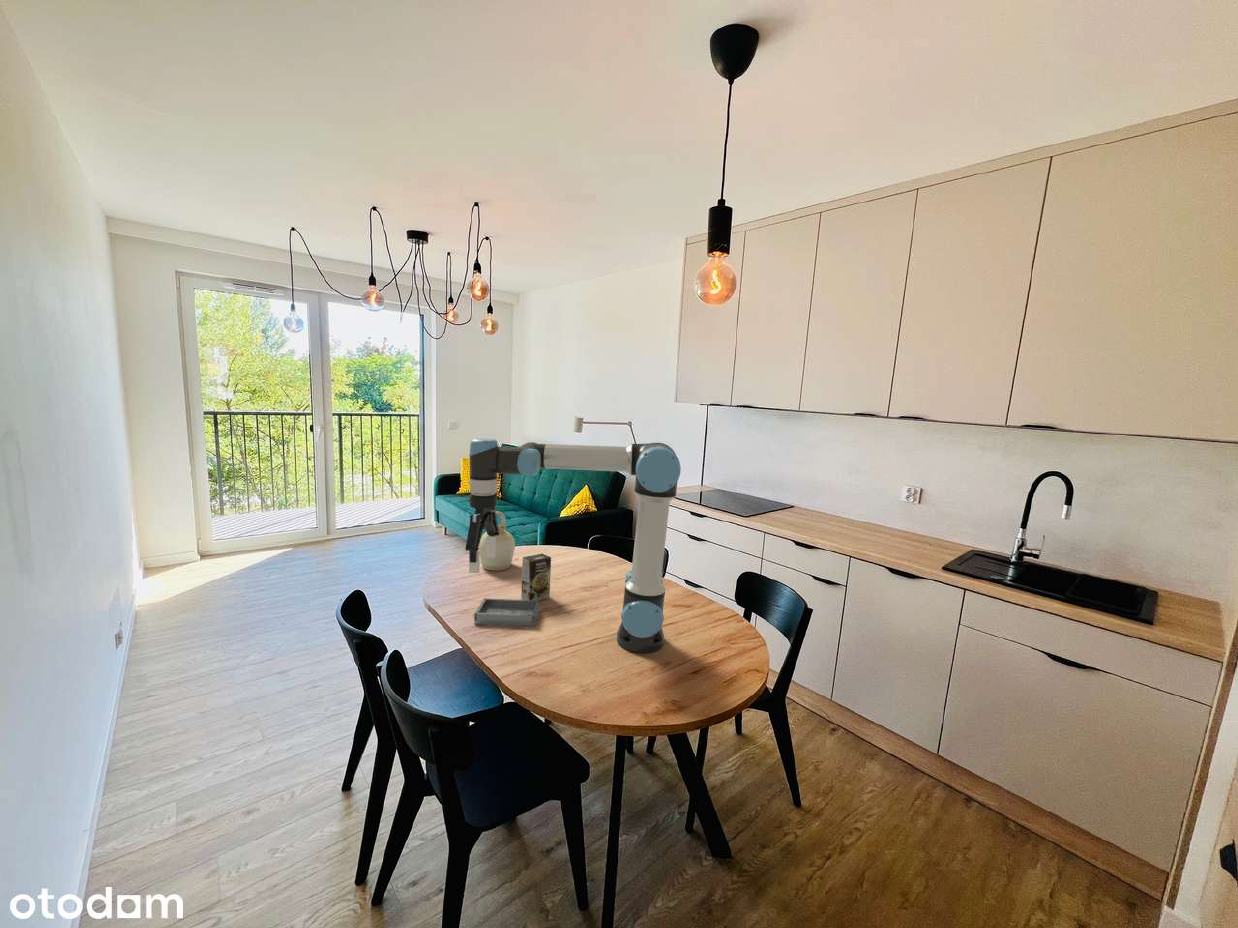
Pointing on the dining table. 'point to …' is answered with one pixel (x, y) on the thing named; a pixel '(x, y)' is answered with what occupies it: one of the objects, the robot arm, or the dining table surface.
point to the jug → (498, 548)
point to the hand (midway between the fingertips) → (482, 564)
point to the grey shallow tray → (507, 612)
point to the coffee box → (536, 577)
